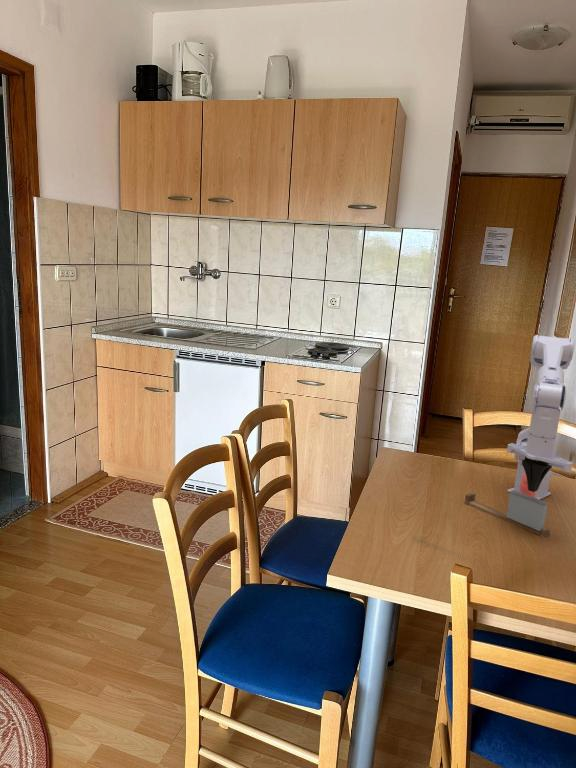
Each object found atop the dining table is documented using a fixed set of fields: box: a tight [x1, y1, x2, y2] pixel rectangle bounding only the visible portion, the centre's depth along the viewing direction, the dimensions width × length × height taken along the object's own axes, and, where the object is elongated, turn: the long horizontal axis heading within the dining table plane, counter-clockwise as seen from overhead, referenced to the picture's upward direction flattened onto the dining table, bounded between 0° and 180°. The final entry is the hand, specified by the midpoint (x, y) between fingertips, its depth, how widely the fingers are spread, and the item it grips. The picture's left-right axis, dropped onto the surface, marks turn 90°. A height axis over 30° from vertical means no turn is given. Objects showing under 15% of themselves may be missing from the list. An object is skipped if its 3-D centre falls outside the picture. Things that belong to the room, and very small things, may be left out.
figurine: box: [519, 473, 536, 498], centre depth 139 cm, size 5×5×15 cm
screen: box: [506, 490, 549, 531], centre depth 131 cm, size 2×9×7 cm, turn 38°
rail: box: [464, 491, 551, 539], centre depth 135 cm, size 3×21×2 cm, turn 38°
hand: (532, 490), depth 127 cm, fingers closed
